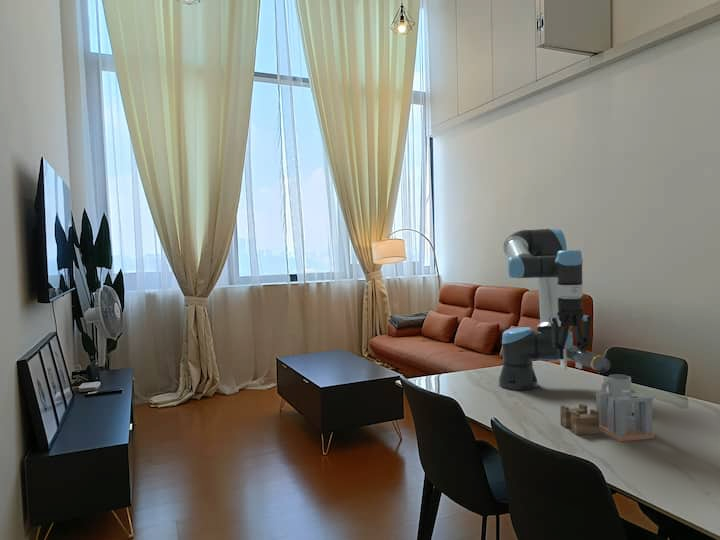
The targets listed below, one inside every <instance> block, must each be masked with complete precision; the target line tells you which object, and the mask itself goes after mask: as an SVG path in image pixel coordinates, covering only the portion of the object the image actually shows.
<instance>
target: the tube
mask: <svg viewBox="0 0 720 540" xmlns="http://www.w3.org/2000/svg"><path fill="white" fill-rule="evenodd" d="M564 349H566V355H567V358H568V359H567V360H571V361H573V362H575V363H576V362H577V363H579V364H582V366H584V367H587V368H588V369H591V370H593V371H596V372H598V373H601V374H605V373H607V372H608V371H610V368H611V361H610V359H609V358H608V357H605V356H604V355H599V354H597V353H594V352H591V351H588V350H586V349H581V348H578V346H577V345H570V344H568V343H565V346H564Z"/></svg>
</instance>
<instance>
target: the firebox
mask: <svg viewBox="0 0 720 540" xmlns="http://www.w3.org/2000/svg"><path fill="white" fill-rule="evenodd" d="M607 394H608V393H607ZM607 394H606V393H604V392H602V391H596V394H595V396H596V397H595V398H596V399H595V400H596V403H595V404H596V411H597V412H599V431H601V432H603V433H604V434H607V435H608V436H610V437H612V438H614V440H617V441H619V442H629V441H638V440H639V441H640V440H647V439H650V440H651V439H655V438H656V435H655V433H653V402H654V397H652V396H650V395H648V394H638V395H635V396H632V392H631V391H628V390H621V397H612V398H607ZM632 403H634V413H632Z"/></svg>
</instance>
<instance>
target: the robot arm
mask: <svg viewBox="0 0 720 540" xmlns="http://www.w3.org/2000/svg"><path fill="white" fill-rule="evenodd" d="M566 241H567V240H566V236H565V234H564V232H563V230H561V229H560V228H559V229H558V228H541V229H523V230H518V231H516V232H514V233H512V234H510V235H509V236H508V237H506V239H505V241H504V243H503V252H504V254H505V256H507V257H508V259H507V273H508V277H509V278H510V279H519V280H520V279H532V278H533V279H537V282H538V301H539V303H538V304H539V320H540V322H539V323H538V325H537V326H536V331H534V330H533V329H532V327H530V326H526V327H524V326H522V327H521V326H520V327H512V328H508V329H506V330H504V331H503V332H502V336H501V337H502V339H501V344H502V368H501V370H500V374H499V377H498V385H499V387H501V388H504V389H507V390H508V389H509V390H514V391H529V390H535V389H537V388H538V385H539V384H538V379H537V376H536V372H535V370H534V364H533V361H555V362H558V361H560V363H559V365H560V369H561V370H564V371H567V370H568V365H567V363H568V362H567V361H568V360H569V359H568V358H567V355H566V349H564V346H565V343H568V344H570V345H573V342H574V337H573V332H574V336H575V340H576V346H577V347H578V348H581V349H584V350H586V349H587V347H590V346H591V322H592V319H593V318H592V316H590V315H587V314H585V313H584V311H583V309H584V300H583V298H582V297H583V295H584V294H583V254H582V251H581V250H580V249H568V248H567V242H566ZM581 321H582V325H581ZM570 327H572V328H573V329H572V330H573V332H572V331H571V330H569V329H570ZM573 346H574V345H573ZM575 368H577V369H579V370H581V369H583V365H582V364H579V363H577V362H575Z"/></svg>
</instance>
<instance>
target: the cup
mask: <svg viewBox="0 0 720 540" xmlns="http://www.w3.org/2000/svg"><path fill="white" fill-rule="evenodd" d="M624 385H628V386H624ZM607 386H608V392H607ZM621 388H622V389H624V390H628V391H630V388H632V377H631V376H628V375H626V374H618V373H617V374H609V375H608V379H606V380H603V382H602V384H601V391H600V392H604V393H606V394H607V399H608V398H612V397H621V390H619V389H621Z"/></svg>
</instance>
